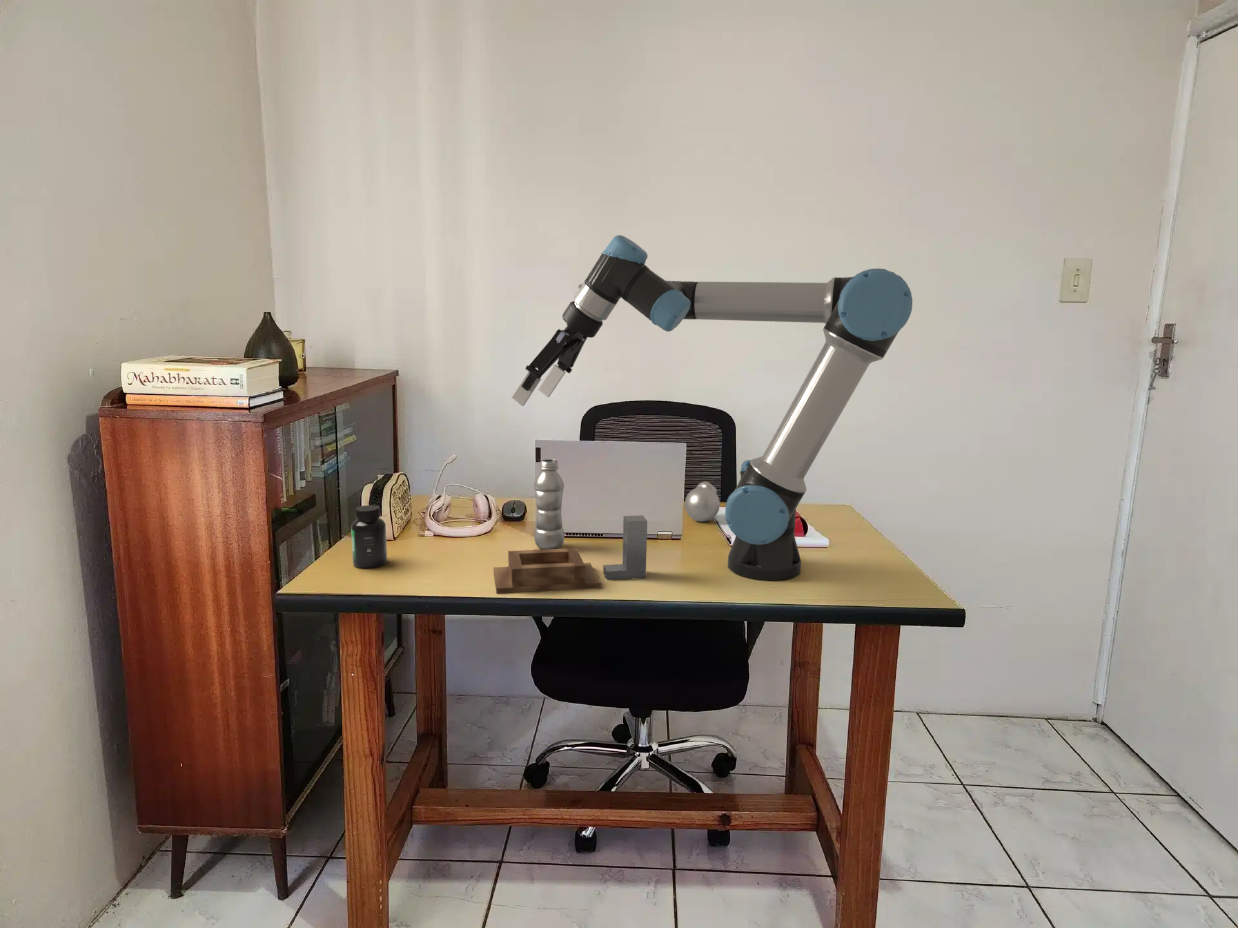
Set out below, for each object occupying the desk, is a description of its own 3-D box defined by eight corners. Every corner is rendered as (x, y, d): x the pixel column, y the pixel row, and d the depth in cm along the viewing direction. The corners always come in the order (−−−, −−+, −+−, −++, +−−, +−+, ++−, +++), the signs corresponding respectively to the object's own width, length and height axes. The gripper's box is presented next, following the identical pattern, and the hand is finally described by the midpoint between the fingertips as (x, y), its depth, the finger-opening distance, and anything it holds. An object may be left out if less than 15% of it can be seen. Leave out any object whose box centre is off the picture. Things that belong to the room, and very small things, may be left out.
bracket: (641, 571, 165) (642, 515, 162) (645, 578, 161) (647, 520, 158) (603, 573, 163) (604, 516, 160) (606, 580, 159) (607, 522, 157)
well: (590, 567, 166) (590, 546, 165) (600, 587, 155) (600, 565, 154) (493, 571, 162) (493, 550, 162) (496, 593, 151) (496, 570, 150)
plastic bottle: (559, 553, 175) (560, 464, 171) (530, 551, 176) (530, 462, 172) (567, 545, 181) (568, 458, 177) (539, 542, 182) (538, 457, 178)
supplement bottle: (349, 569, 163) (346, 512, 160) (358, 558, 169) (355, 503, 167) (383, 569, 163) (380, 512, 161) (390, 558, 170) (388, 503, 167)
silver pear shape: (728, 522, 202) (730, 484, 200) (698, 527, 197) (700, 488, 195) (705, 514, 209) (707, 477, 207) (676, 518, 204) (678, 480, 202)
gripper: (593, 298, 167) (539, 379, 174) (550, 300, 143) (490, 393, 150) (621, 320, 166) (566, 400, 173) (582, 325, 142) (521, 417, 149)
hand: (531, 397), depth 162 cm, fingers open, 13 cm apart
